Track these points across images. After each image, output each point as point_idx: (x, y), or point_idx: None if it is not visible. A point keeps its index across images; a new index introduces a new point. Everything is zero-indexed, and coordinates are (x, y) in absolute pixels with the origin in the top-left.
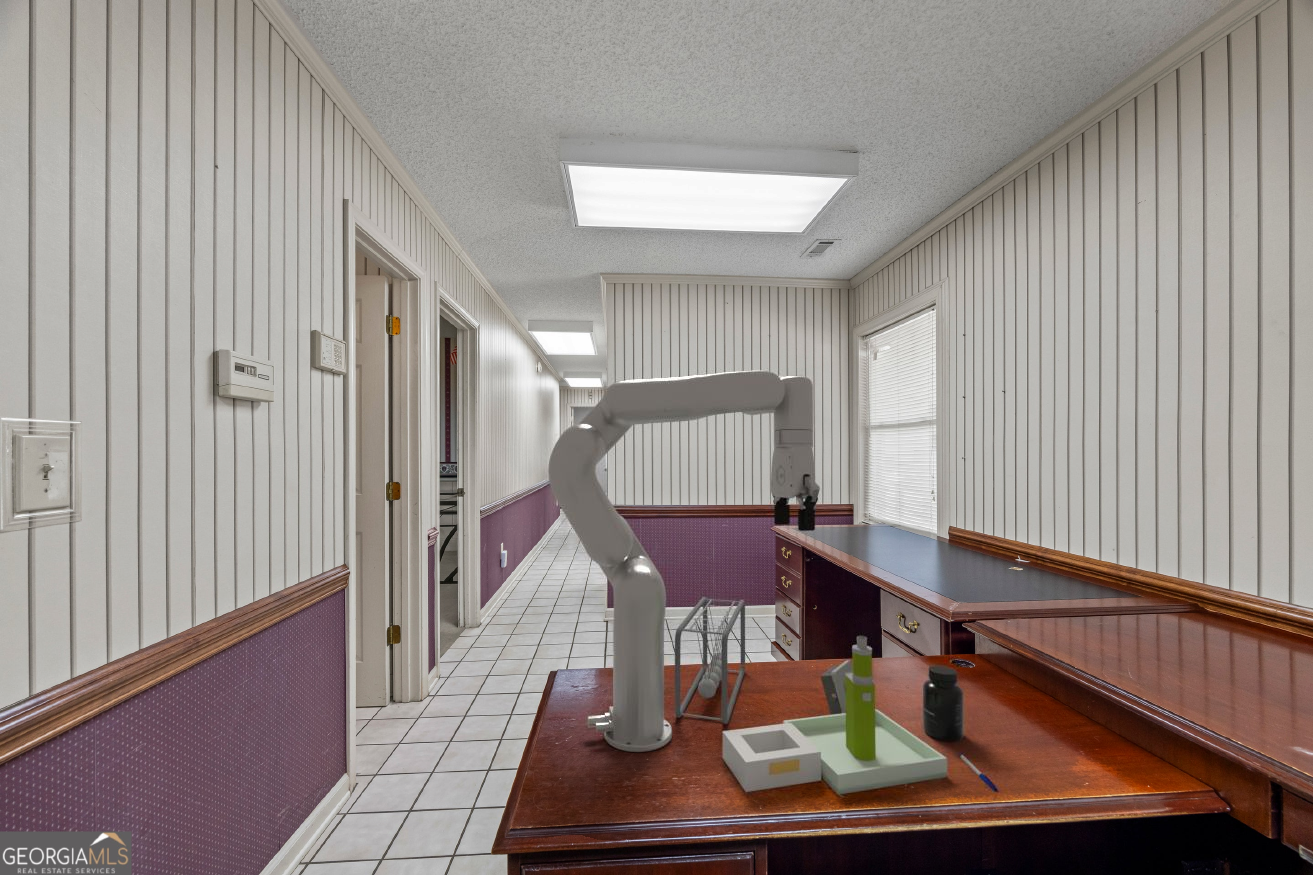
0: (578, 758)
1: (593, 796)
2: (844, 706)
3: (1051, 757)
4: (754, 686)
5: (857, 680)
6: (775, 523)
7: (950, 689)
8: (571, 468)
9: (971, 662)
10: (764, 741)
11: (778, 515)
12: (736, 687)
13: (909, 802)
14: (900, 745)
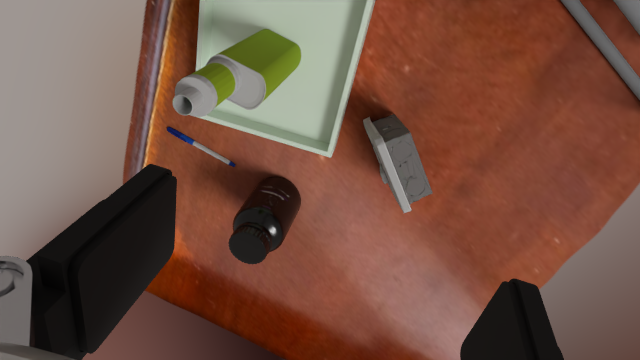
0: None
1: None
2: (365, 125)
3: (199, 236)
4: (576, 79)
5: (215, 60)
6: (518, 280)
7: (237, 226)
8: None
9: None
10: None
11: (511, 346)
12: (590, 26)
13: (176, 15)
14: (269, 117)
